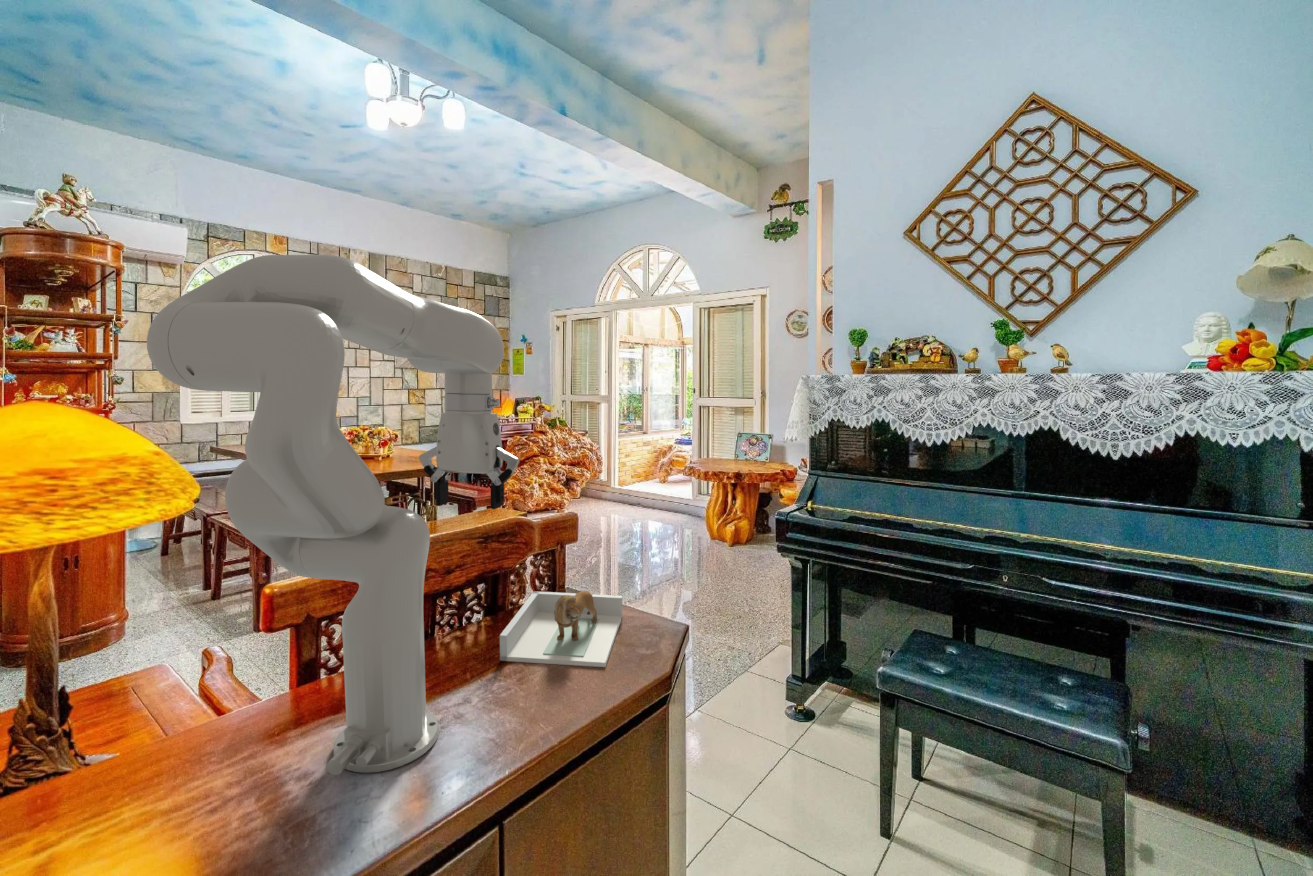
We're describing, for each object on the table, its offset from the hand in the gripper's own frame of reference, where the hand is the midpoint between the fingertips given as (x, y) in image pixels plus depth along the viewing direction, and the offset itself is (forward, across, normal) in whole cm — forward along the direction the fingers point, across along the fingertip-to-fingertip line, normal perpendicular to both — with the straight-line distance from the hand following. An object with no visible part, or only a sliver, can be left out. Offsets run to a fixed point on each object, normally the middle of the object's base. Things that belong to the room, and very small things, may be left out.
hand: (469, 506), depth 101 cm
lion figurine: (+25, -17, -9) cm, 31 cm away
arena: (+26, -15, -9) cm, 31 cm away
